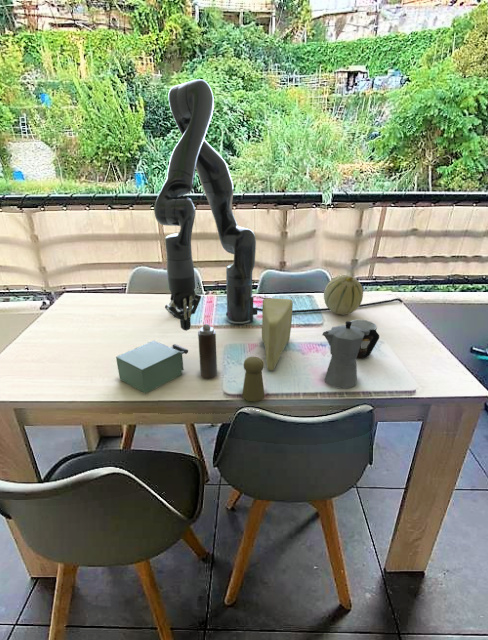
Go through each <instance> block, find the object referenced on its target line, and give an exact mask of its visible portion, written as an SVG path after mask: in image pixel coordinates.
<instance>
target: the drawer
mask: <svg viewBox="0 0 488 640" xmlns="http://www.w3.org/2000/svg"><path fill="white" fill-rule="evenodd" d="M160 343H161V344H163V343H162V342H160ZM163 345H165V344H163ZM167 346H168V347H170V346H169V345H167ZM170 348H172V349H175V350H177V351H179V352H180V357H181V368H182V371H183V370H184V359H183V355H184V354H185V355H187V354H188V353H189V349H188V348H185V347H183V346H180V345H178V344H172V346H171V347H170Z"/></svg>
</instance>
